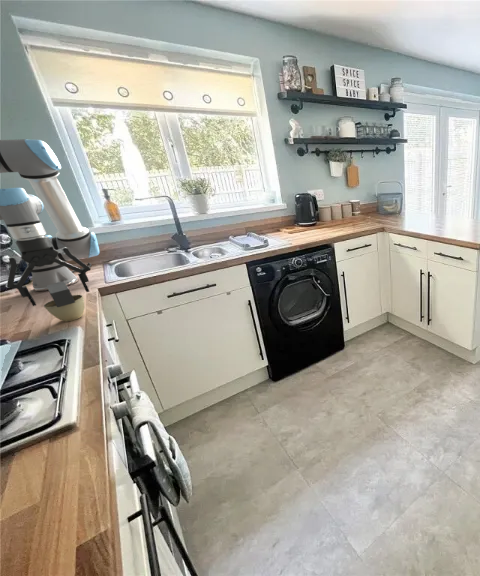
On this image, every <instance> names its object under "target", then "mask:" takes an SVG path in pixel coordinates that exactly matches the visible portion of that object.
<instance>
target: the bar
mask: <svg viewBox="0 0 480 576" xmlns="http://www.w3.org/2000/svg"><path fill="white" fill-rule="evenodd" d="M47 287H48V290H47V291H48V292H49V294H50V296H51V298H52V301H53V300H54V302H55V304H56V306H57V307H61V306H65V305H68V304H72V303H75V300H74V298H73V296H72V295H73V294H72V292H71V290H70V289H69V287H68V286H66V284H65V282H60V283H55V284H51V285H47Z"/></svg>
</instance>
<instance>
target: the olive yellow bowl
mask: <svg viewBox="0 0 480 576" xmlns="http://www.w3.org/2000/svg"><path fill="white" fill-rule="evenodd" d="M72 296H73V298H74V300H75V303H72V304H68V305H65V306H61V307H57V306H56V304H55V302H54V300H53V299H52V300H51V301H48V302H46V303H45V304H44V305H43V307H44V308H45V310H46V311H47V312H48V313H50V315H52V316H54V317H55V318H56V319H58V320H60V321H62V322H67V323H68V322H73V321H76V320H78V319H80V318H82V317H83V315H84V311H85V299H84V296H83V295H82V294H72Z"/></svg>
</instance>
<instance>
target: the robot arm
mask: <svg viewBox="0 0 480 576" xmlns="http://www.w3.org/2000/svg"><path fill="white" fill-rule="evenodd" d="M61 169H62V165H61V163H60V161H59V159H58V157H57V156H56V154H55V153H54V151H53V149H52V148H51V147H50V145H48V144H47V142H45V141H43V140H41V139H29V138H20V139H19V138H18V139H17V138H16V139H0V174H4V173H18V175H19V177H20V178H22V179H24V180H26V181H28V182H29V184H30V186H31V187H32V189H33V191H34V192H35V194H36V196H35V195H34V194H31V193H27V192H26V190H25V189H24V188H23V187H8V188H7V187H6V188H0V221H3V222H4V224H5V226H6V228H7V230H8V232H9V234H10V235H11V237H12V239H13V240H16V241H15V244H16V246H17V248H18V250H19V252H20V254H21V256H9V257H8V261H9V264H10V267H9V271H8V278H7V283H6V287H7V289H17V291H18V292H19V294H20V296H21V297H22V298H28V300H29V302H30V303H31V305H32V307H36V306H37V303H36V301H35V300H34V298H33V296H32V294H31V292H30V291H29V289H28V287H27V285H25V284H26V281H27V280H28V278H29V277H30V274H31V276H32V277H31V278H32V288H33V290H34V291H35V292H46V291H49V290H48V287H47V285H51V284H55V283H60V282H65V284H66V286H67V287H68V286H71V285H73V284H75V283H78V282H79V280H80V282H81V284H82V286H83V288H84V290H85V292H86V293H89V292H90V290H89V287H88V285H87V283H89V278H88V276H87V273H88V272H89V271H91V267H92V263H91V262H87V263H88V264H87V263H85V262H84V261H82V259H90V258H92V257H98V256H99V254H100V247H99V242H98V238H97V235H96V233H95V232H94V231H90V229H88V228H87V227H85V226H83V225H82V223H81V222H80V220H79V218H78V216H77V214H76V212H75V210H74V208H73V206H72V204H71V203H70V200H69V199H68V196H67V195H66V192H65V191H64V189H63V187H62V185H61V183H60V181H59V179H58V176H59V175H60V172H59V171H60V170H61ZM44 210H45V211H46V213H47V215H48V216H49V219H50V221H51V222H52V223H53V225H54V227H55V228H56V231H57V232H56V233H55V237H53V235H51V234H47V231H46V229H45V227H44V225H43V223H42V222H41V220H40V217H39V215H40V214H41V213H42V212H43V211H44ZM21 261H23V262H25V264H26V265H27V266H26V267H25V269H24V271H23V273H22V274H21V276H20V278H19V279H18V281H17V283H15V278H16V272H17V267H18V264H21ZM71 261H73V262H75V263H76V264H78V265H79V266H80V267H81V268H80V267H78V266H75V265H73V264H71V263H68V262H71ZM75 272H76V273H77V275H75ZM77 276H78V277H77ZM78 278H79V279H78Z"/></svg>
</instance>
